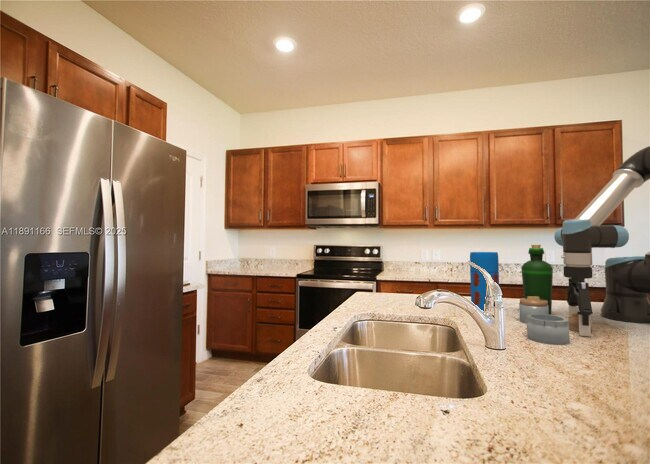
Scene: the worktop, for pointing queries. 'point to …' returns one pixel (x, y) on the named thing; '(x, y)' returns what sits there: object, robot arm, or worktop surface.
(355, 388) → the worktop surface
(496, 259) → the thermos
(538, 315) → the canister
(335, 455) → the worktop surface
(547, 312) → the canister
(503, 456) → the worktop surface
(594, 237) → the robot arm
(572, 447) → the worktop surface
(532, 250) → the bottle
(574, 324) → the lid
